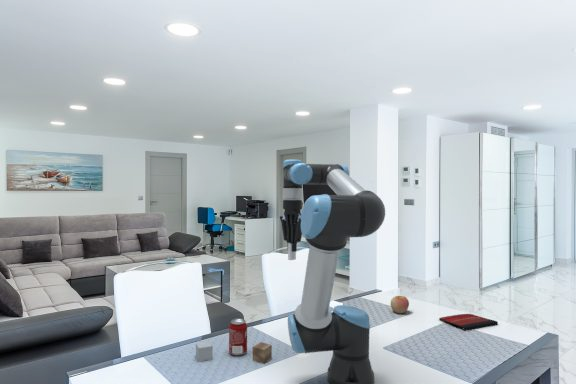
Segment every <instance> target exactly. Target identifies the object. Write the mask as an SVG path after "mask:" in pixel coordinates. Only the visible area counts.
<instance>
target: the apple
mask: <svg viewBox="0 0 576 384" xmlns="http://www.w3.org/2000/svg"><path fill="white" fill-rule="evenodd" d="M409 305H410V301H409V299H408V298H407V297H406V296H404V295H396V296H395V295H394V296H393V297H392V298H391V300H390V308H391V310H392V311H393V312H395V313H397V314H404V313H405V312H407V310H408V309H409Z"/></svg>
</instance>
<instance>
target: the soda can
mask: <svg viewBox="0 0 576 384" xmlns="http://www.w3.org/2000/svg"><path fill="white" fill-rule="evenodd" d="M228 352H229V354H231V355H233V356H243V355H244V354H246V353H247V352H248V324H247V321H246V319H245V318H244V319H243V318H233V319H232V320H230V324H229V326H228Z"/></svg>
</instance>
